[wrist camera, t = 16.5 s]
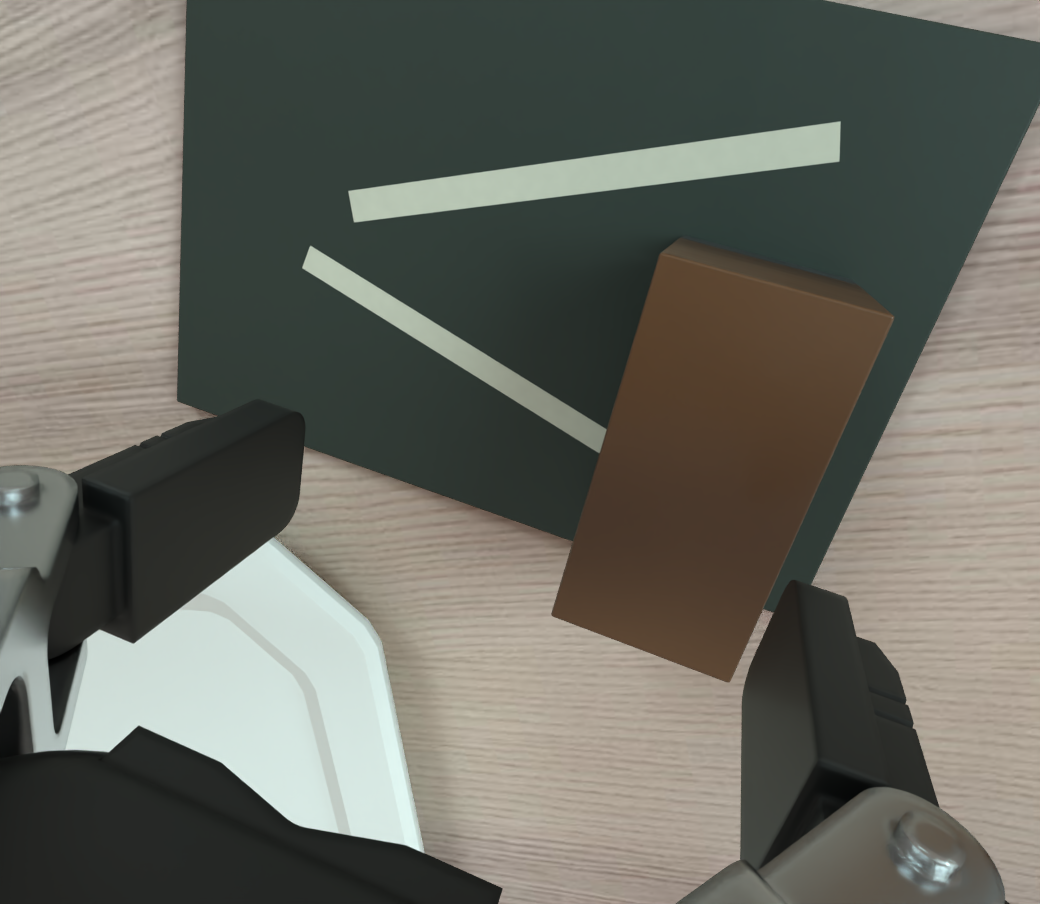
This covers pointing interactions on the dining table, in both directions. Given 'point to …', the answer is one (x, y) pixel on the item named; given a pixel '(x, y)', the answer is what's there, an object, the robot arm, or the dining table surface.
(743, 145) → the chalkboard
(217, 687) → the plate
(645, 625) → the eraser
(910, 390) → the dining table surface
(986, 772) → the dining table surface
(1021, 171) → the dining table surface
